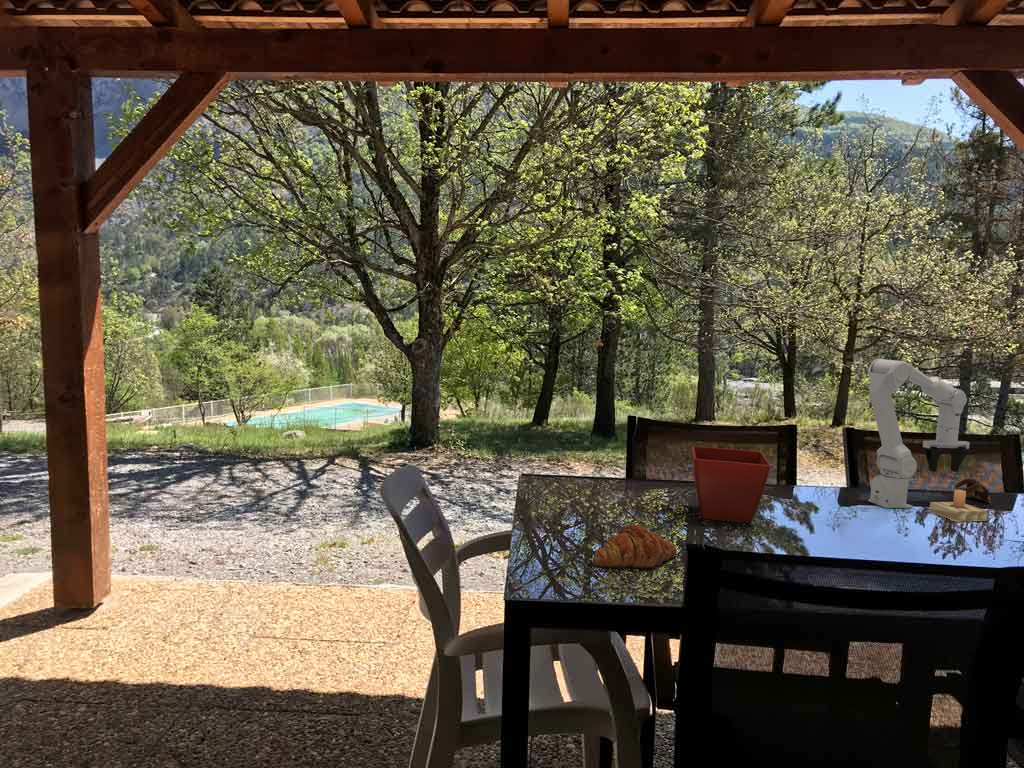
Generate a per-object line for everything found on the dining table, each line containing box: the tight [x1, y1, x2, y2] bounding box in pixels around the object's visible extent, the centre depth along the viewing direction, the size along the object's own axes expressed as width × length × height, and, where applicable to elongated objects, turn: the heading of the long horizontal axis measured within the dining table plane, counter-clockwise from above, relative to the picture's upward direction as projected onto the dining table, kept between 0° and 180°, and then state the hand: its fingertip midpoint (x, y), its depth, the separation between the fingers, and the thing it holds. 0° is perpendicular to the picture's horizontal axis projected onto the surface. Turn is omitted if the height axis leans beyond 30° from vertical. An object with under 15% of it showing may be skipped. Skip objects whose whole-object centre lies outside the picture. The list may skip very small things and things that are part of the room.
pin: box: [952, 489, 967, 508], centre depth 213 cm, size 3×3×7 cm
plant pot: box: [691, 445, 771, 524], centre depth 203 cm, size 19×19×17 cm
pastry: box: [592, 524, 677, 570], centre depth 163 cm, size 17×15×8 cm
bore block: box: [928, 501, 989, 523], centre depth 214 cm, size 10×10×3 cm
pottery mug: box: [953, 477, 992, 504], centre depth 235 cm, size 12×10×8 cm
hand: (943, 471), depth 229 cm, fingers open, 7 cm apart
